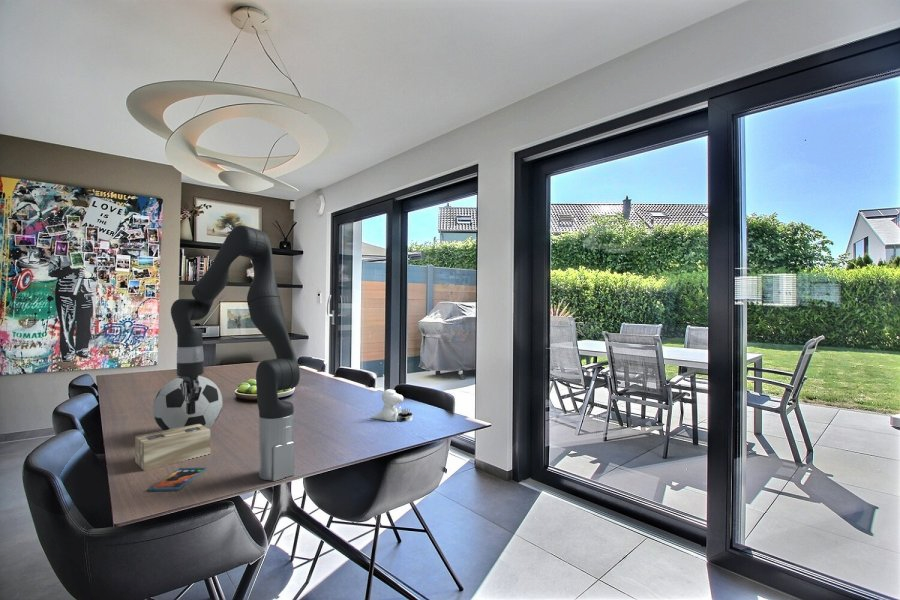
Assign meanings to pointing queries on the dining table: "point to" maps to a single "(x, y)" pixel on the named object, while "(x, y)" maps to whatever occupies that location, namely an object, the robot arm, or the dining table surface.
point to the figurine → (392, 408)
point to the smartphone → (176, 479)
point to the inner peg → (191, 429)
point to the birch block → (171, 446)
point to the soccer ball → (173, 406)
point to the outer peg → (155, 437)
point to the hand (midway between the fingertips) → (190, 413)
